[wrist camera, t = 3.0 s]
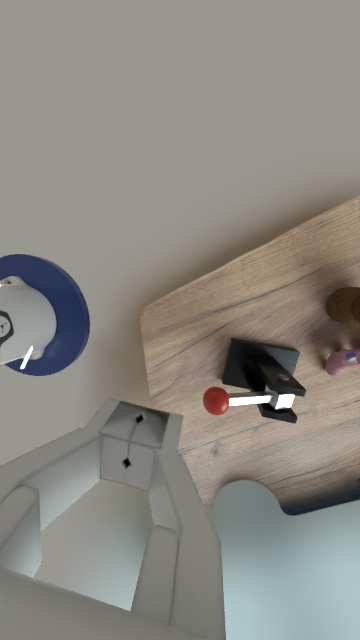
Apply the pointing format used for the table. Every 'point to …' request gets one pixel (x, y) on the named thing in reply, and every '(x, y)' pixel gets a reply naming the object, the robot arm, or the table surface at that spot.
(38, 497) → the robot arm
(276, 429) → the table surface
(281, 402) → the lever
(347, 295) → the utensil holder
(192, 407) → the table surface
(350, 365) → the pink toy car
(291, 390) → the bracket
